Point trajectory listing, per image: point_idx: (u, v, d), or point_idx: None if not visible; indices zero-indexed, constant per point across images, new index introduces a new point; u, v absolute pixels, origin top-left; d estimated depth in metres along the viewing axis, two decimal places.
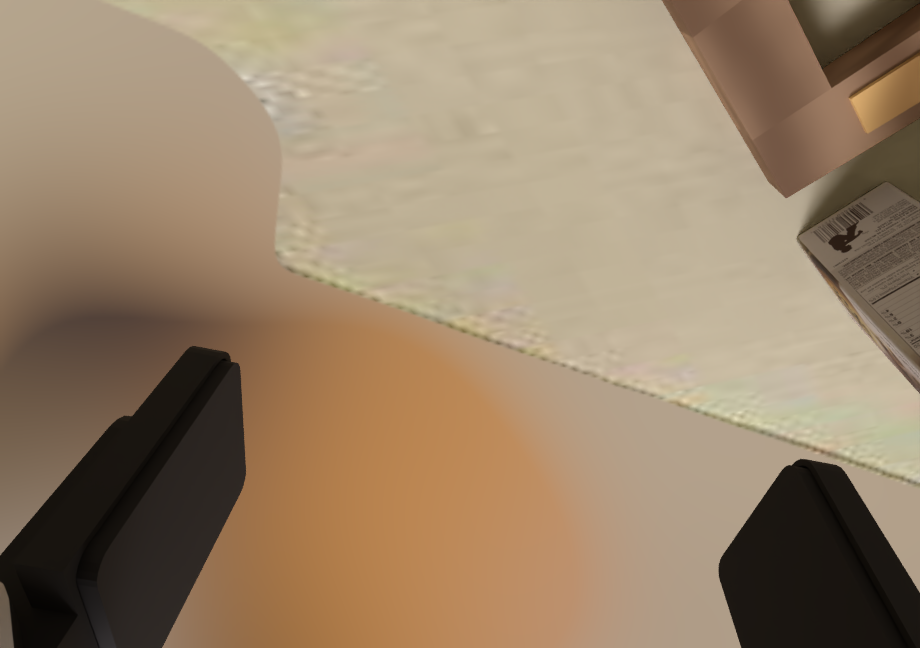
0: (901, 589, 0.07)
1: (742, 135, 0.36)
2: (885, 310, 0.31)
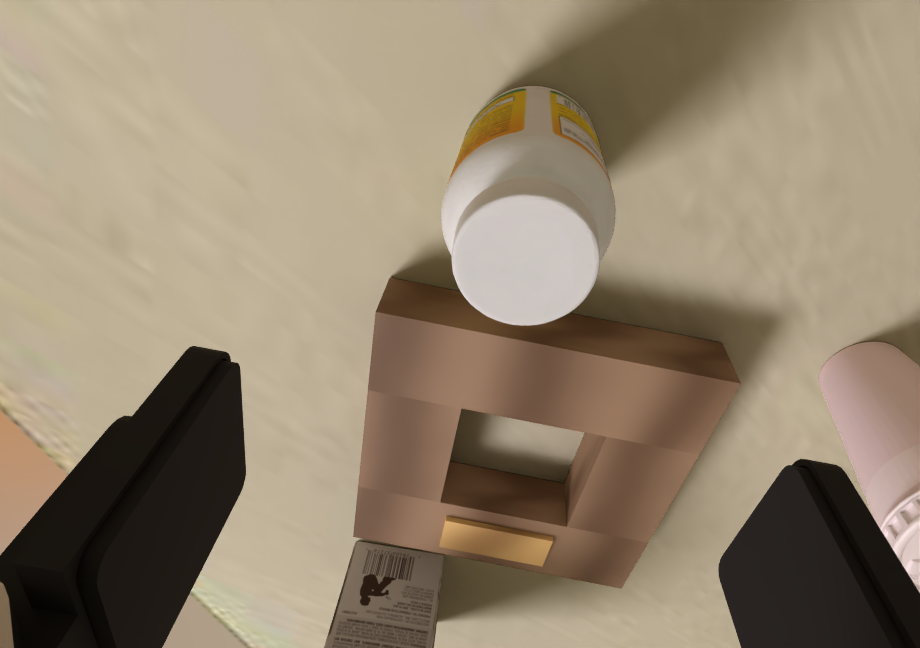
0: (901, 589, 0.07)
1: None
2: None
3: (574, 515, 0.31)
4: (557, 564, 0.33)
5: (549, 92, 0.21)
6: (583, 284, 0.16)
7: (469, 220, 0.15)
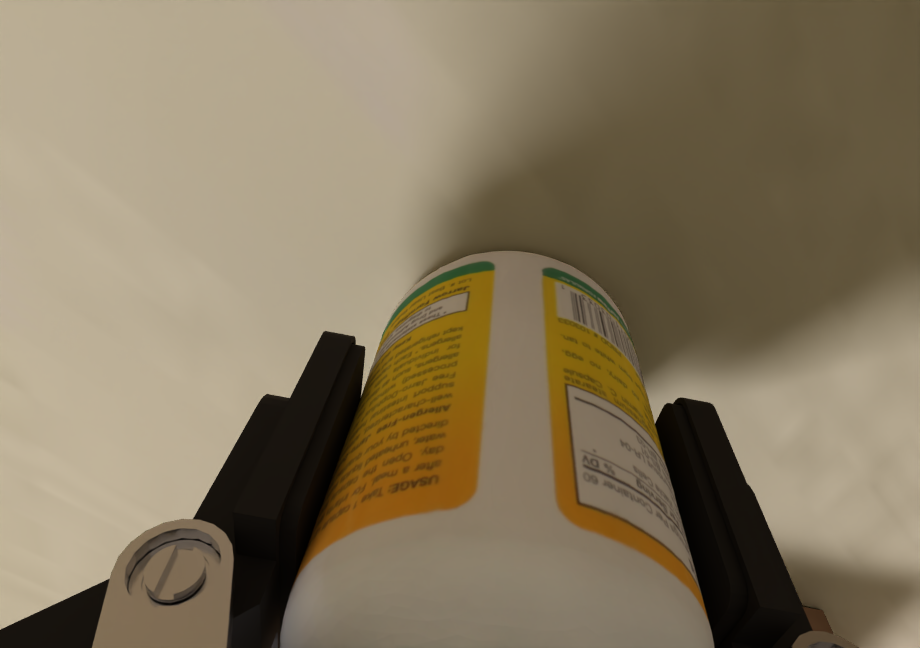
0: (738, 500, 0.08)
1: None
2: None
3: None
4: None
5: (541, 277, 0.10)
6: None
7: None
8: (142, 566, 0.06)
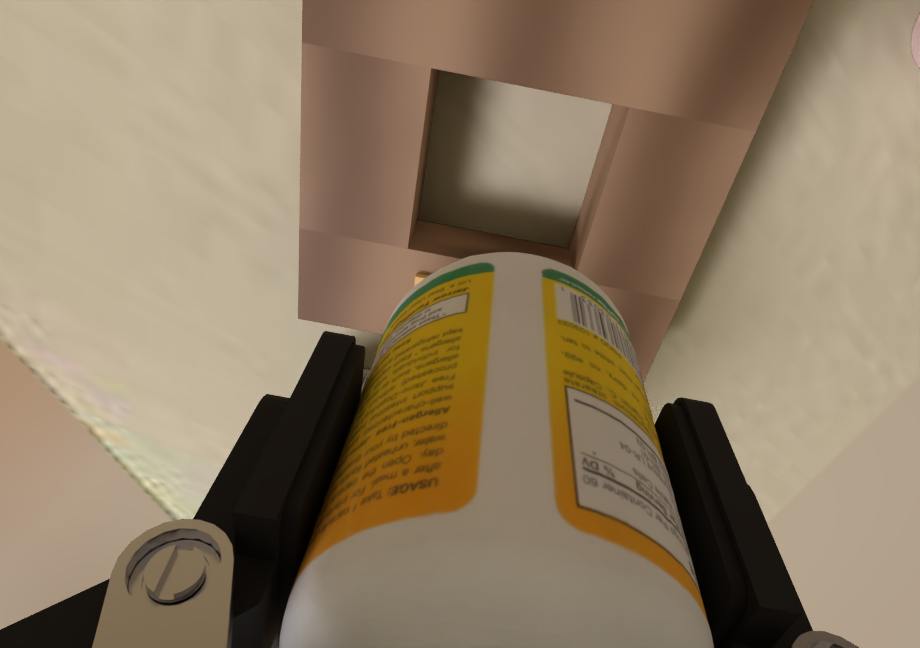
0: (738, 499, 0.08)
1: None
2: None
3: (584, 259, 0.23)
4: None
5: (540, 278, 0.10)
6: None
7: None
8: (142, 566, 0.06)
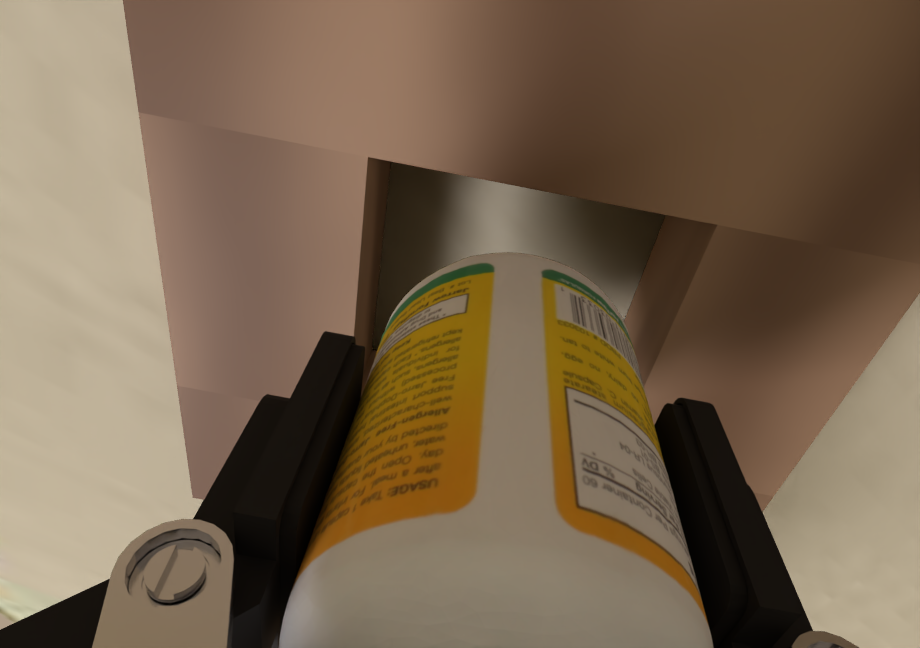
0: (738, 500, 0.08)
1: None
2: None
3: None
4: None
5: (540, 279, 0.10)
6: None
7: None
8: (142, 566, 0.06)
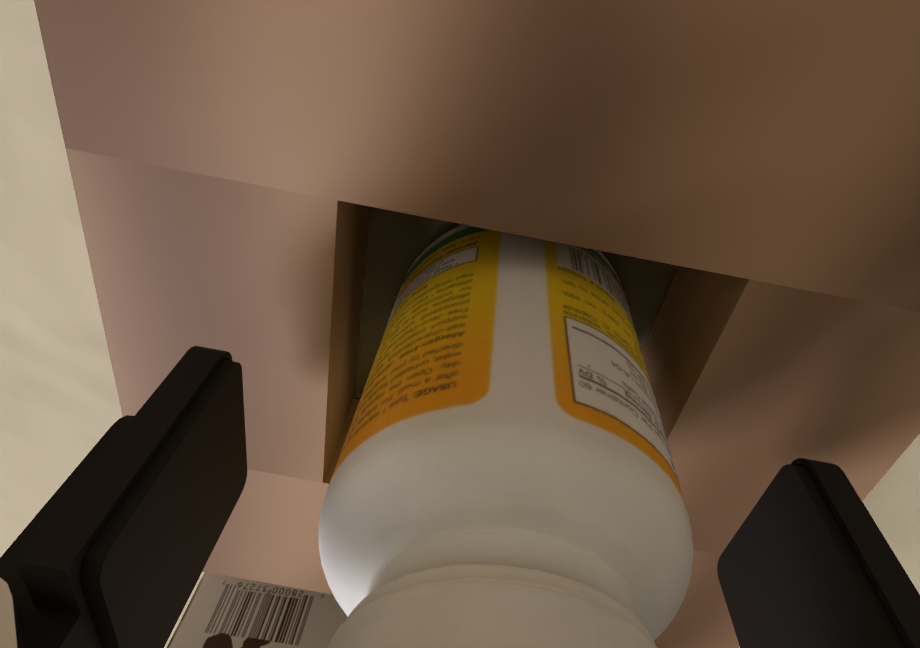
0: (899, 587, 0.07)
1: None
2: None
3: None
4: None
5: None
6: None
7: None
8: None
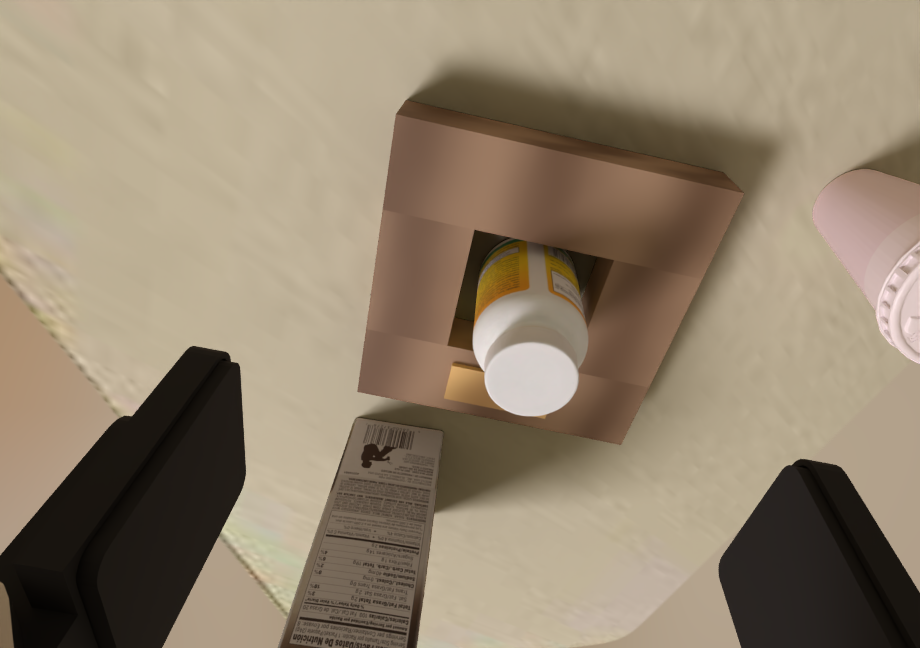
0: (901, 589, 0.07)
1: None
2: (325, 550, 0.30)
3: None
4: (559, 417, 0.34)
5: None
6: (568, 393, 0.25)
7: (497, 355, 0.24)
8: None
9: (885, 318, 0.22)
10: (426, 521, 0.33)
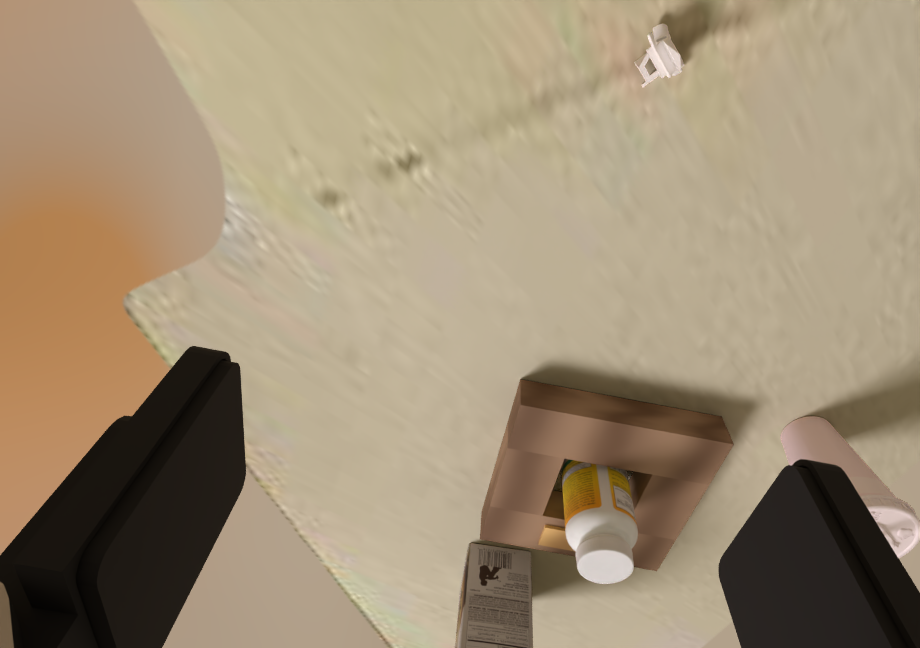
0: (901, 589, 0.07)
1: (489, 486, 0.51)
2: None
3: None
4: None
5: None
6: (627, 573, 0.41)
7: (586, 555, 0.41)
8: None
9: None
10: (529, 627, 0.50)
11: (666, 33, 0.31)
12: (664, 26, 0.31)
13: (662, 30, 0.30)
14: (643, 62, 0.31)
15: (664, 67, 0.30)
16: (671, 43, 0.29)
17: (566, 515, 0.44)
